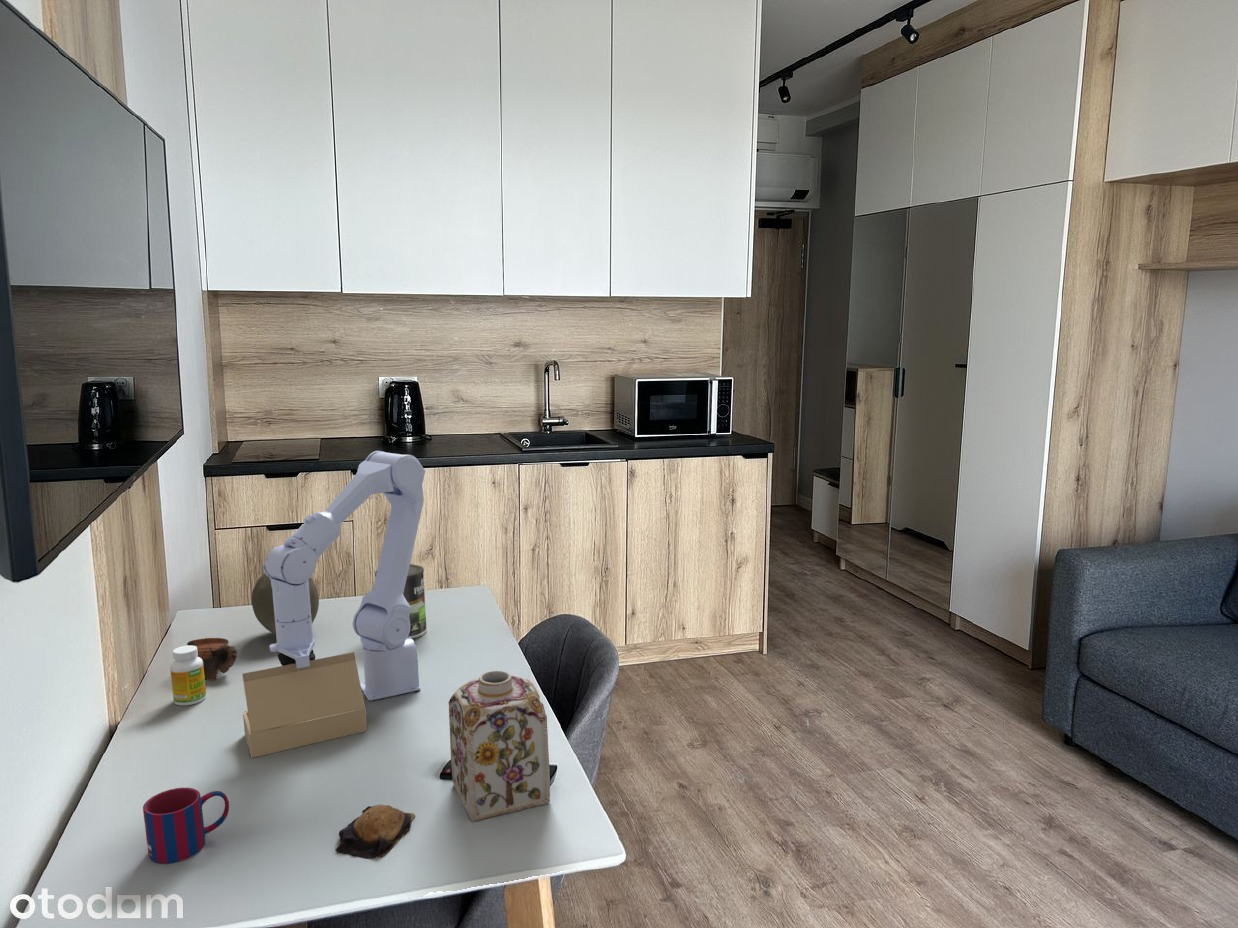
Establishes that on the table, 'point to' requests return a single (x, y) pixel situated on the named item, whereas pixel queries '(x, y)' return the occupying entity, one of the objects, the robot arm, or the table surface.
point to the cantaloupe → (265, 606)
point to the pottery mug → (214, 655)
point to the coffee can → (415, 600)
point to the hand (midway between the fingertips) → (299, 693)
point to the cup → (177, 824)
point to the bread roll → (374, 832)
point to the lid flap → (302, 692)
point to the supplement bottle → (187, 676)
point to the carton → (304, 732)
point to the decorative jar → (499, 745)
